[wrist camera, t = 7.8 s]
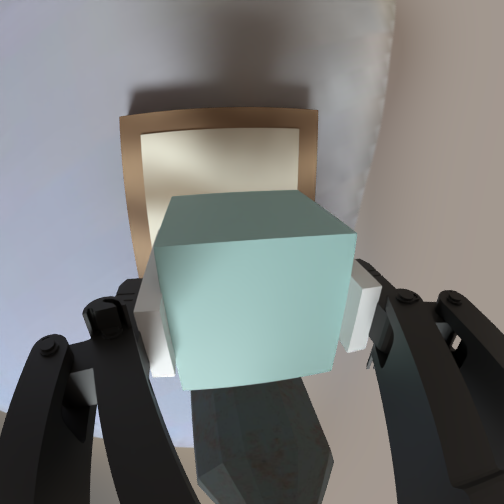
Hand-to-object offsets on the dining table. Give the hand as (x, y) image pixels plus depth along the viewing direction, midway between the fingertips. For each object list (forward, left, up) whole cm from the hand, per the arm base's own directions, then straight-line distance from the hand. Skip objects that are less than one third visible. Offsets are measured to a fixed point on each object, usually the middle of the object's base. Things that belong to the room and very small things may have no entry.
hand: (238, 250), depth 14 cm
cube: (0, 0, 0) cm, 0 cm away
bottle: (+16, +1, -10) cm, 19 cm away
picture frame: (0, 0, -10) cm, 10 cm away
